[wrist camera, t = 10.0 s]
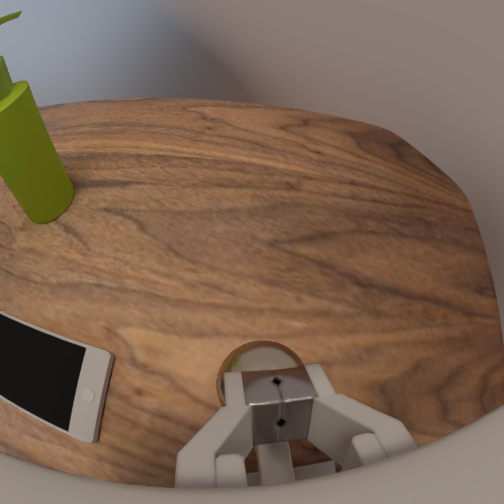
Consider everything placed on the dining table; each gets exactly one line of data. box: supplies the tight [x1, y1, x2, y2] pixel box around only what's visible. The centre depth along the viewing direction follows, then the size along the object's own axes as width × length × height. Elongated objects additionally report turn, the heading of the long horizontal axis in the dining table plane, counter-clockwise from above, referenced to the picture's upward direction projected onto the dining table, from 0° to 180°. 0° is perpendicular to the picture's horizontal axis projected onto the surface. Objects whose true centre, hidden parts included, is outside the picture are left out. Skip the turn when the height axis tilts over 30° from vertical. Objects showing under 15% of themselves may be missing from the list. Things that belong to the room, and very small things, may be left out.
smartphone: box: [0, 311, 114, 443], centre depth 17 cm, size 7×16×1 cm, turn 82°
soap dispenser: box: [0, 11, 74, 223], centre depth 18 cm, size 6×7×20 cm
